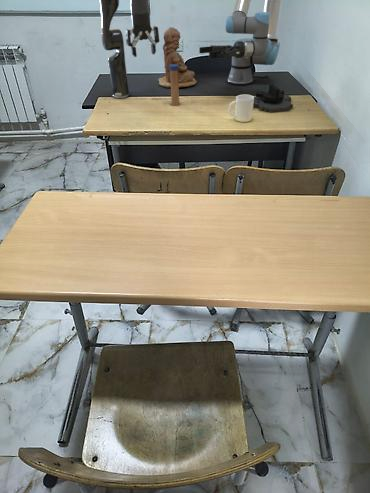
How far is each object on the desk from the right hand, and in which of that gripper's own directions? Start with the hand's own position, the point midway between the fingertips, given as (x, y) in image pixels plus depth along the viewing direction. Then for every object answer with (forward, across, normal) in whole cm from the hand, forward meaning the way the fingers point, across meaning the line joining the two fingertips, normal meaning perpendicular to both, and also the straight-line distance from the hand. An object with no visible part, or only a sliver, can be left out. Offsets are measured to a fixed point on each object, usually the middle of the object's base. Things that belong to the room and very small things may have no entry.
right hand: (204, 52), depth 181 cm
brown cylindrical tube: (+16, +2, -24) cm, 29 cm away
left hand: (+35, -17, +4) cm, 39 cm away
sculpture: (+2, +40, -23) cm, 46 cm away
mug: (-7, -32, -24) cm, 41 cm away
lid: (+16, +2, -5) cm, 17 cm away
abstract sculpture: (-30, -20, -24) cm, 43 cm away
